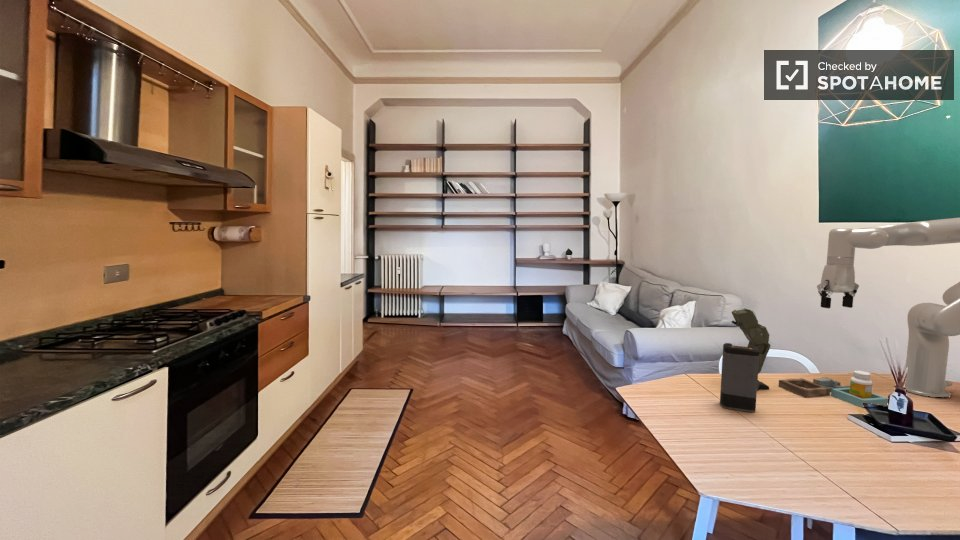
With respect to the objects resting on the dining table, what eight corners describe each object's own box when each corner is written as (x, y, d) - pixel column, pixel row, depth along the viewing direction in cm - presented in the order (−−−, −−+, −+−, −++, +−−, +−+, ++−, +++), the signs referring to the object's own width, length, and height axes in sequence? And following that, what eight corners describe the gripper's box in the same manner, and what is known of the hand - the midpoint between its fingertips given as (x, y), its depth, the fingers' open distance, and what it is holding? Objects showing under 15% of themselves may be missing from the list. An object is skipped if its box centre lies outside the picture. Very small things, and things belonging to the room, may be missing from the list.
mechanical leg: (770, 381, 148) (754, 303, 146) (782, 388, 140) (766, 307, 139) (731, 388, 149) (715, 311, 147) (742, 396, 142) (725, 315, 140)
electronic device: (752, 406, 128) (756, 345, 126) (756, 413, 123) (760, 350, 121) (719, 401, 132) (722, 342, 130) (721, 408, 127) (725, 346, 125)
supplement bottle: (844, 397, 135) (846, 370, 134) (858, 397, 136) (861, 369, 135) (860, 404, 130) (863, 375, 129) (875, 403, 130) (878, 375, 129)
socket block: (801, 385, 146) (802, 378, 146) (829, 395, 137) (830, 388, 136) (778, 386, 145) (778, 379, 145) (804, 397, 135) (805, 390, 135)
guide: (837, 385, 146) (837, 381, 146) (851, 390, 141) (851, 386, 141) (809, 387, 144) (810, 383, 144) (823, 392, 139) (823, 388, 139)
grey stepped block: (823, 384, 145) (824, 376, 144) (836, 389, 140) (837, 381, 140) (809, 385, 144) (810, 377, 143) (822, 390, 139) (822, 382, 139)
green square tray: (854, 393, 138) (855, 386, 138) (888, 406, 129) (889, 398, 128) (830, 395, 137) (831, 388, 137) (863, 408, 127) (863, 400, 127)
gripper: (848, 261, 152) (844, 305, 154) (810, 261, 149) (806, 306, 151) (870, 262, 145) (866, 308, 146) (830, 262, 142) (827, 310, 143)
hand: (836, 307), depth 148 cm, fingers open, 9 cm apart
